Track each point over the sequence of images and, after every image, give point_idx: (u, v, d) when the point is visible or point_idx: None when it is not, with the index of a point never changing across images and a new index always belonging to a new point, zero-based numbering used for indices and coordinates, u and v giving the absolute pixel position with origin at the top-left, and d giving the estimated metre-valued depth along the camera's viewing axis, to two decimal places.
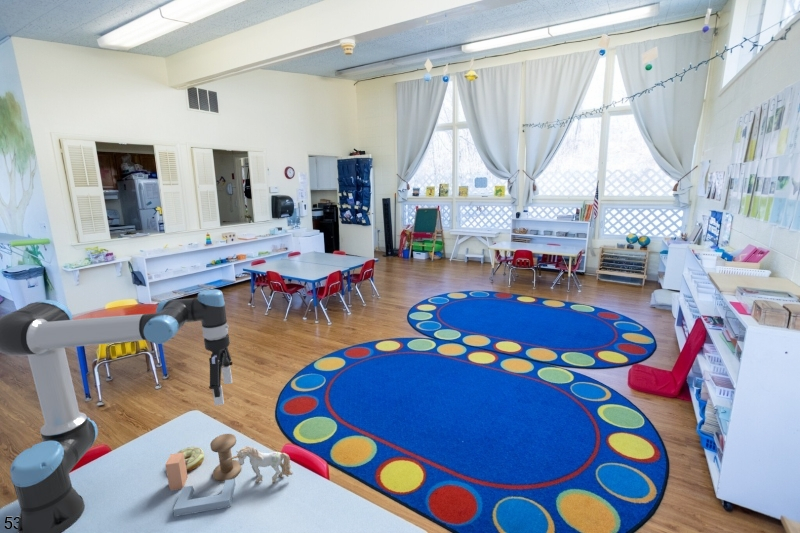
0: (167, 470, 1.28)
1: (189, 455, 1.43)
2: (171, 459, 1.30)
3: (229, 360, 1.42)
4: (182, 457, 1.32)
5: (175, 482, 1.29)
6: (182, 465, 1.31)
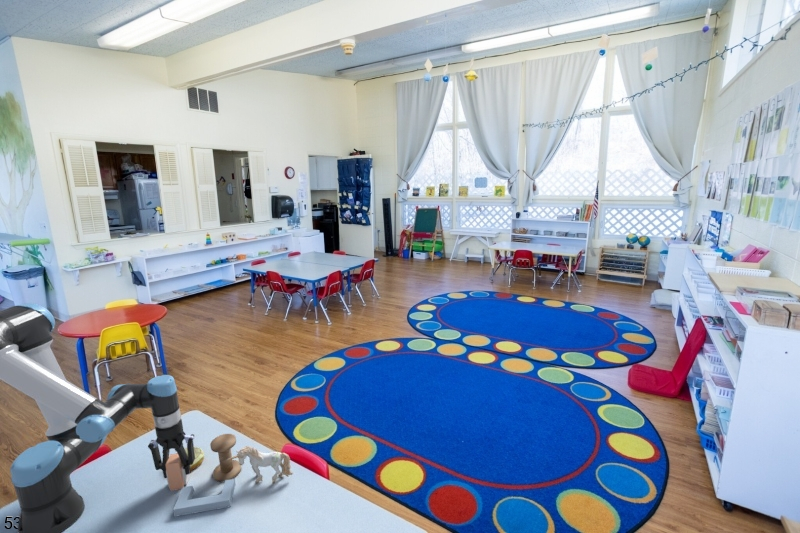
0: (167, 470, 1.28)
1: None
2: (172, 459, 1.30)
3: (189, 462, 1.31)
4: None
5: (175, 482, 1.29)
6: (182, 465, 1.31)
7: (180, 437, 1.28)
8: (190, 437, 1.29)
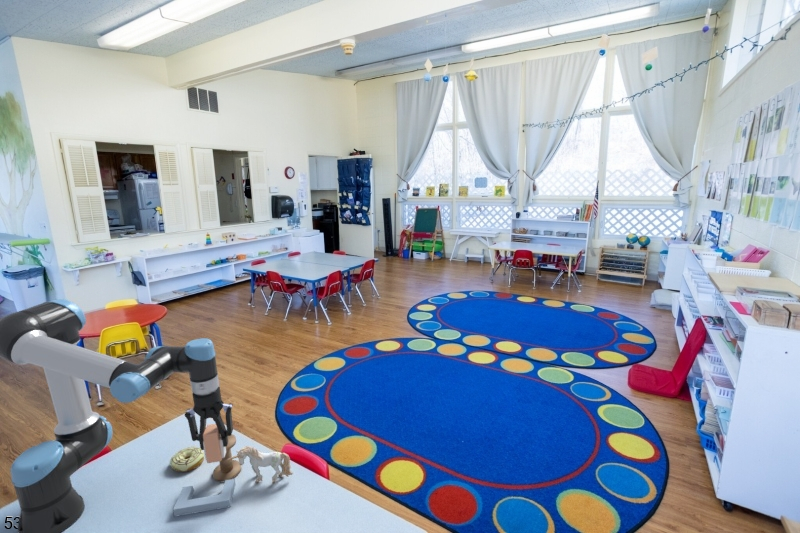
0: (205, 441, 1.19)
1: (189, 455, 1.43)
2: (209, 430, 1.21)
3: (227, 432, 1.22)
4: None
5: (212, 454, 1.21)
6: None
7: (218, 406, 1.19)
8: (229, 406, 1.21)
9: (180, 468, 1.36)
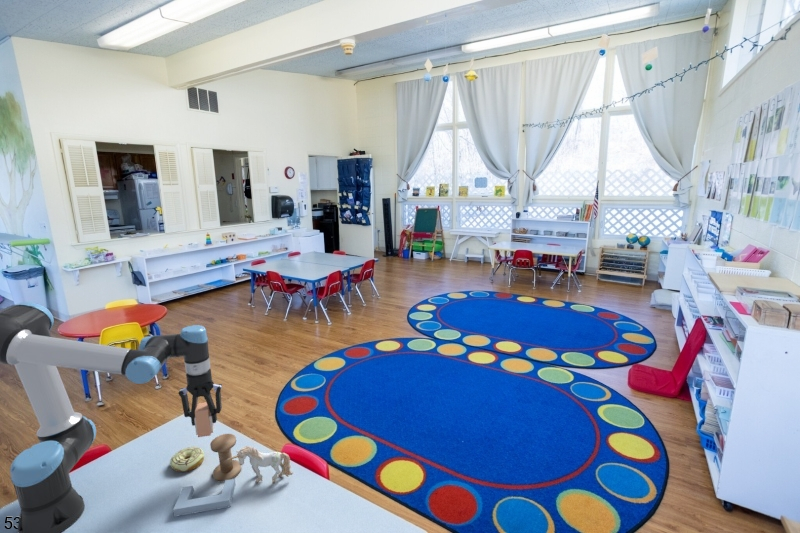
0: (196, 417, 1.33)
1: (189, 455, 1.43)
2: (200, 407, 1.35)
3: None
4: None
5: (203, 429, 1.35)
6: (209, 413, 1.37)
7: (209, 385, 1.33)
8: (218, 386, 1.35)
9: (180, 468, 1.36)
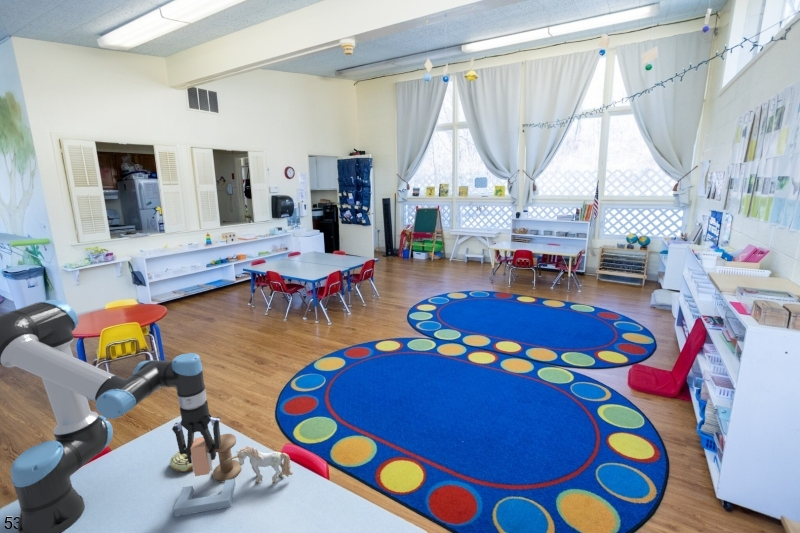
0: (192, 454, 1.20)
1: None
2: (197, 443, 1.22)
3: (215, 446, 1.23)
4: None
5: (200, 467, 1.22)
6: (207, 449, 1.24)
7: (206, 419, 1.20)
8: (216, 420, 1.22)
9: (180, 468, 1.36)
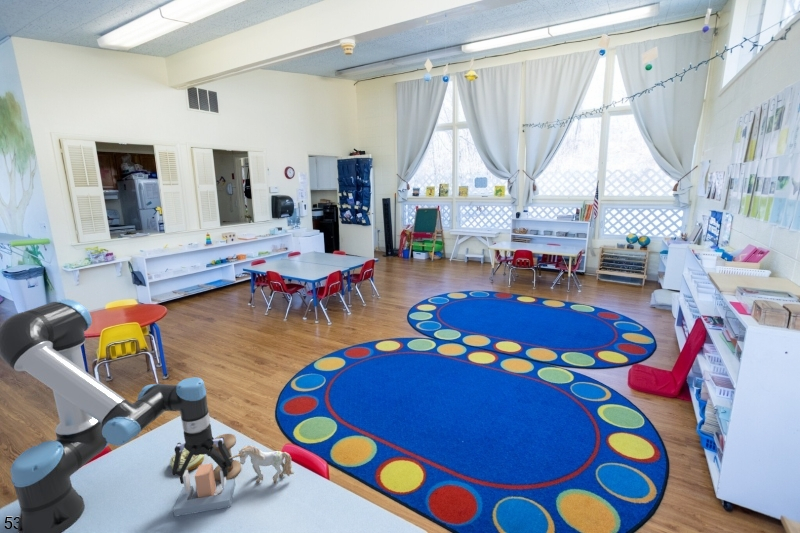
0: (196, 482, 1.23)
1: None
2: (200, 471, 1.24)
3: (227, 464, 1.25)
4: (211, 468, 1.26)
5: (204, 494, 1.24)
6: (211, 477, 1.26)
7: (209, 442, 1.22)
8: (219, 440, 1.23)
9: None
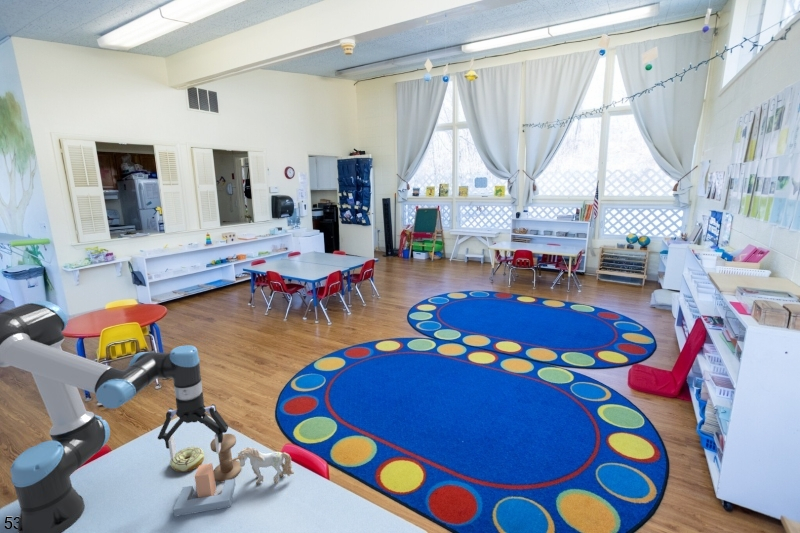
0: (196, 482, 1.23)
1: (189, 455, 1.43)
2: (200, 471, 1.24)
3: (222, 430, 1.26)
4: (211, 468, 1.26)
5: (204, 495, 1.24)
6: (211, 477, 1.26)
7: (200, 411, 1.23)
8: (210, 407, 1.24)
9: (180, 468, 1.36)
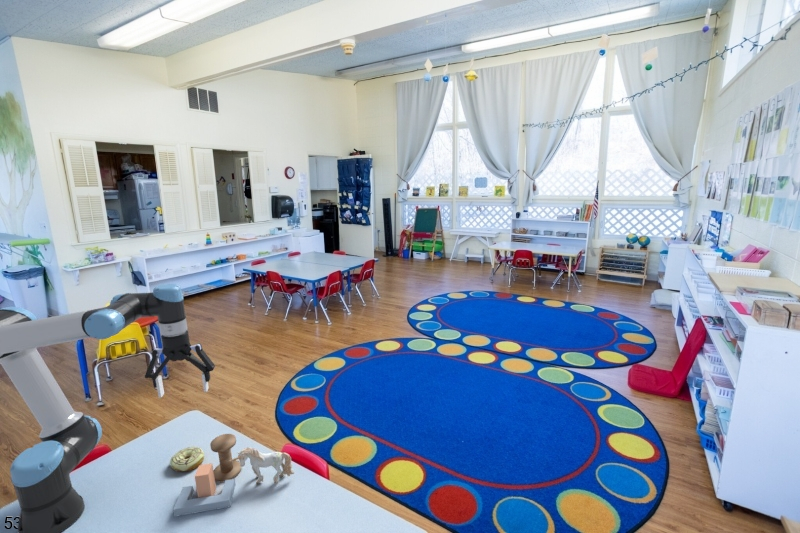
0: (196, 482, 1.23)
1: (189, 455, 1.43)
2: (200, 471, 1.24)
3: (209, 369, 1.28)
4: (211, 468, 1.26)
5: (204, 495, 1.24)
6: (211, 477, 1.26)
7: (186, 348, 1.25)
8: (196, 345, 1.26)
9: (180, 468, 1.36)
